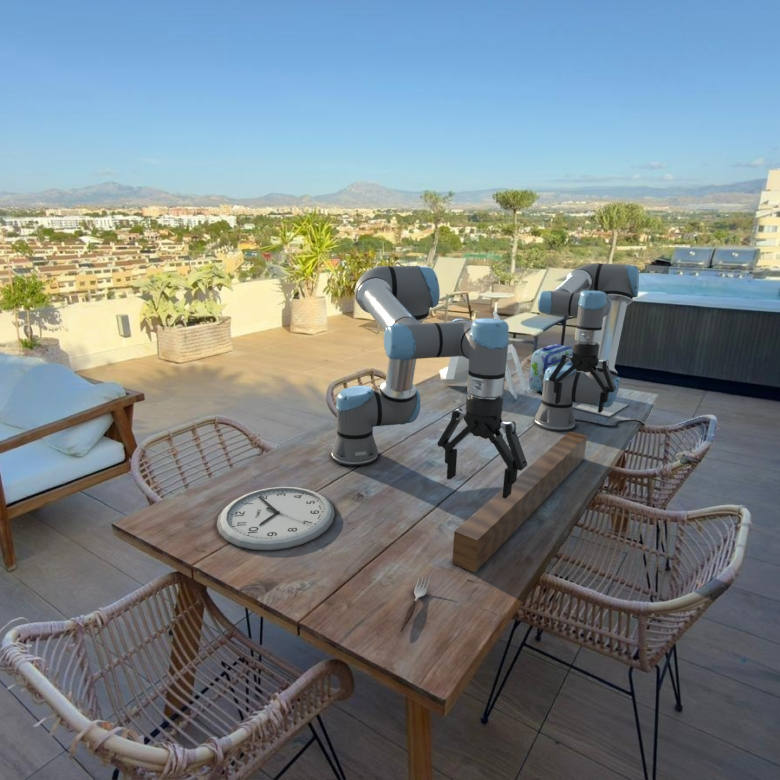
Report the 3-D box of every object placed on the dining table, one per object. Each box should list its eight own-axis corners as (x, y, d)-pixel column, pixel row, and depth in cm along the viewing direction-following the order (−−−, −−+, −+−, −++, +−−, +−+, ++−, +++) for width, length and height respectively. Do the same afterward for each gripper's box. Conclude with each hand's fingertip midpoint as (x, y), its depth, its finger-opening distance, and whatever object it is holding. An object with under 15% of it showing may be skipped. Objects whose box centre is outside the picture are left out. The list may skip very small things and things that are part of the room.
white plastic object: (461, 429, 252) (437, 405, 227) (444, 352, 274) (420, 323, 250) (535, 404, 240) (518, 377, 215) (510, 326, 262) (492, 293, 237)
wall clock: (333, 542, 123) (202, 546, 121) (333, 547, 124) (203, 552, 121) (335, 482, 152) (229, 485, 149) (335, 487, 152) (230, 490, 150)
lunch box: (545, 397, 238) (550, 352, 231) (524, 391, 245) (529, 348, 239) (572, 386, 255) (578, 344, 249) (552, 381, 262) (557, 340, 256)
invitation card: (608, 416, 214) (573, 407, 224) (608, 416, 214) (573, 408, 224) (628, 404, 229) (594, 396, 238) (628, 405, 229) (594, 397, 238)
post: (566, 454, 178) (569, 431, 175) (584, 458, 175) (587, 435, 172) (452, 563, 119) (454, 531, 117) (474, 573, 116) (477, 540, 113)
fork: (394, 632, 98) (394, 623, 98) (419, 581, 113) (419, 573, 112) (407, 636, 97) (407, 627, 97) (430, 584, 112) (431, 576, 111)
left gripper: (424, 387, 113) (421, 475, 119) (535, 412, 99) (524, 511, 105) (442, 379, 118) (438, 464, 125) (550, 402, 104) (539, 497, 111)
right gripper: (543, 338, 165) (536, 402, 172) (626, 350, 151) (616, 419, 157) (551, 334, 171) (545, 396, 177) (633, 345, 157) (622, 412, 163)
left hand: (478, 486), depth 115 cm, fingers open, 13 cm apart
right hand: (578, 407), depth 167 cm, fingers open, 13 cm apart
